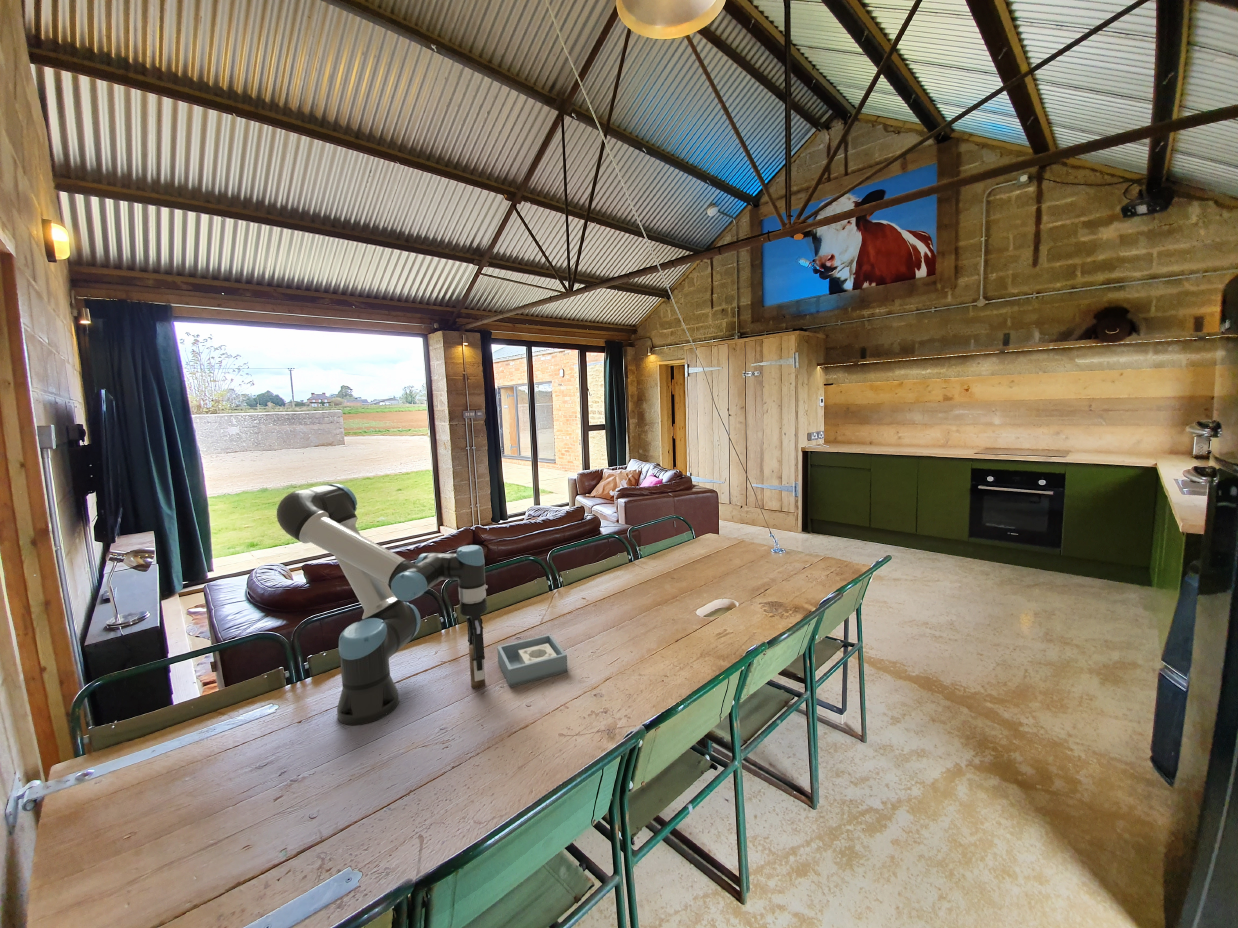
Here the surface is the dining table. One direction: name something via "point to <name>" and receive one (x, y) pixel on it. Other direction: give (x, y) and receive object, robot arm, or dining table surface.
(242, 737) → the dining table surface
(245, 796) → the dining table surface
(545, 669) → the box
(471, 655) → the peg
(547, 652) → the plate
